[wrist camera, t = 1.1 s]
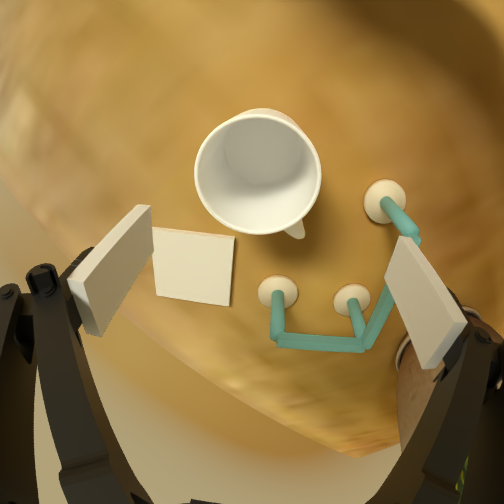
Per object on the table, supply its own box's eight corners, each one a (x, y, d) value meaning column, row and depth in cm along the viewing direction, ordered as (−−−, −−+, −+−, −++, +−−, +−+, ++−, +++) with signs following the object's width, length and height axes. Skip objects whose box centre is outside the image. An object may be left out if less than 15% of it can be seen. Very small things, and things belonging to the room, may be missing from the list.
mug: (263, 226, 33) (258, 285, 23) (205, 134, 28) (170, 157, 18) (333, 193, 30) (358, 241, 21) (279, 92, 25) (282, 90, 16)
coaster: (152, 226, 33) (150, 229, 33) (234, 236, 33) (234, 239, 33) (158, 291, 39) (156, 295, 38) (229, 302, 39) (228, 306, 38)
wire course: (276, 158, 28) (277, 185, 21) (408, 184, 28) (446, 217, 21) (256, 303, 38) (251, 355, 31) (362, 313, 38) (376, 363, 30)
